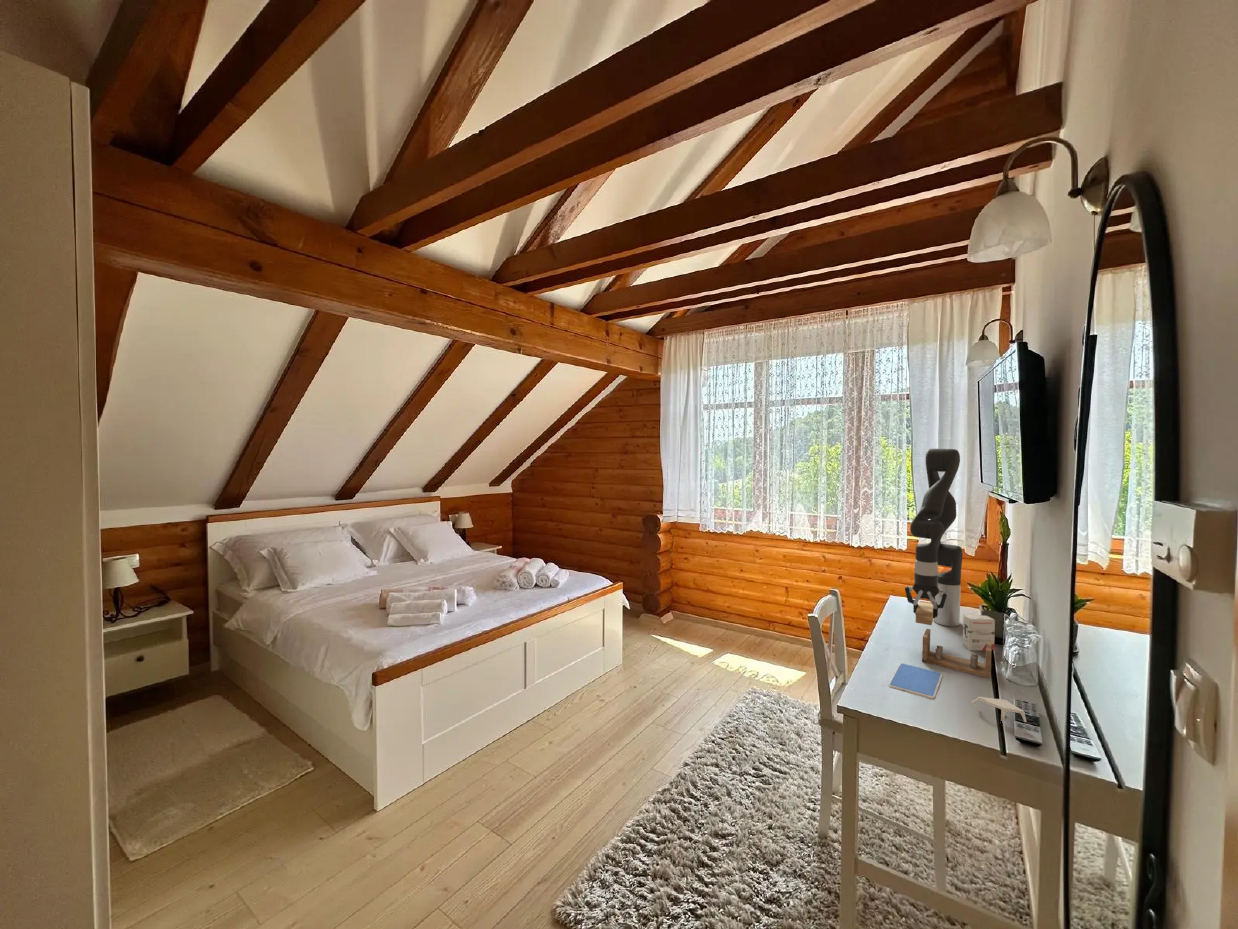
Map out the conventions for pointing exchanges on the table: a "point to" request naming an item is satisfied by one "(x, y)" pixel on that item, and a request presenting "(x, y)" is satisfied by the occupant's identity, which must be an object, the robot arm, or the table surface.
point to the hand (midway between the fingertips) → (925, 615)
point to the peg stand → (956, 659)
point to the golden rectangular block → (924, 613)
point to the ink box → (978, 631)
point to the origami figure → (1000, 706)
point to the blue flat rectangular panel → (916, 680)
